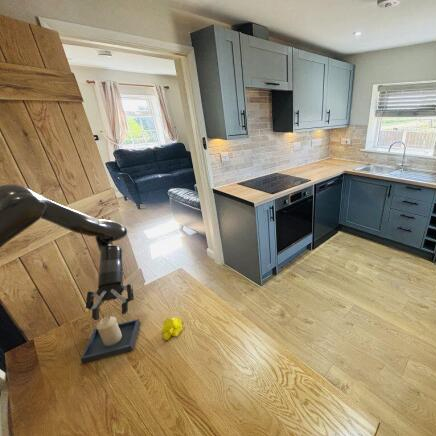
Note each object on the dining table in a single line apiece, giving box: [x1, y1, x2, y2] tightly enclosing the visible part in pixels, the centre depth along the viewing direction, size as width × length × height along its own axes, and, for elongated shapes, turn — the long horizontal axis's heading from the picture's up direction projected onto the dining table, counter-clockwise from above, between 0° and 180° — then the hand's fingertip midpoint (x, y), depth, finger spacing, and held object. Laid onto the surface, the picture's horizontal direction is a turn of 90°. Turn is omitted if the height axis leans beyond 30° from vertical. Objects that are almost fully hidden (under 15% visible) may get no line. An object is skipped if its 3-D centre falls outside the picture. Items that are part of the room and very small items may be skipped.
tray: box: [80, 318, 141, 364], centre depth 86 cm, size 15×13×2 cm
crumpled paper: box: [160, 317, 184, 341], centre depth 90 cm, size 6×8×8 cm
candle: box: [96, 316, 122, 346], centre depth 85 cm, size 6×6×10 cm
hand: (110, 316), depth 87 cm, fingers open, 8 cm apart
